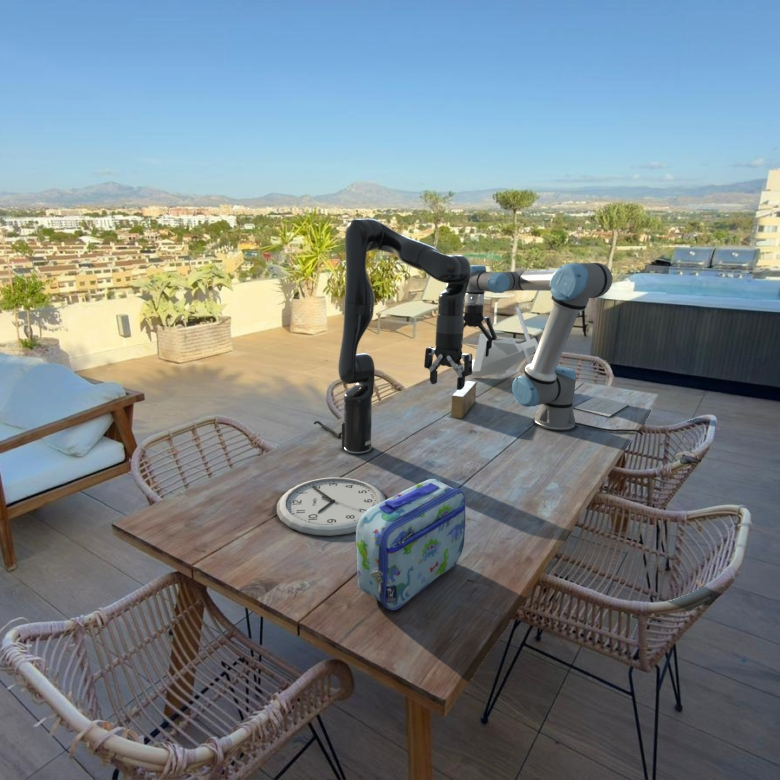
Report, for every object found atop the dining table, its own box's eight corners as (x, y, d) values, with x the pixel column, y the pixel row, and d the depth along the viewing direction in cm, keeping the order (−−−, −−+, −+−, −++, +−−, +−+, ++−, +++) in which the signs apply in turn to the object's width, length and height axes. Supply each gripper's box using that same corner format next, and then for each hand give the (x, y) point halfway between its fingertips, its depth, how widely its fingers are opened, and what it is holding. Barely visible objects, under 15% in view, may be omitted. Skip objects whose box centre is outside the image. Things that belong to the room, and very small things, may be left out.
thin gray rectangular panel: (608, 416, 214) (573, 407, 224) (608, 416, 214) (573, 408, 224) (628, 404, 229) (594, 396, 238) (628, 405, 229) (594, 397, 238)
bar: (465, 400, 232) (466, 380, 229) (475, 401, 230) (476, 382, 227) (450, 416, 211) (452, 395, 209) (461, 418, 210) (462, 396, 207)
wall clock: (392, 527, 129) (268, 531, 127) (391, 533, 130) (269, 537, 127) (383, 473, 158) (282, 475, 155) (383, 478, 158) (282, 480, 156)
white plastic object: (486, 418, 266) (465, 396, 241) (467, 346, 288) (447, 318, 263) (557, 395, 254) (543, 368, 229) (531, 321, 276) (517, 290, 251)
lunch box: (385, 624, 100) (387, 528, 94) (349, 596, 108) (348, 506, 101) (468, 566, 118) (474, 482, 112) (432, 545, 125) (436, 466, 119)
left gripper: (420, 328, 145) (418, 384, 150) (465, 335, 137) (462, 394, 142) (434, 325, 151) (432, 379, 155) (479, 331, 143) (475, 388, 147)
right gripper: (442, 302, 215) (440, 353, 222) (503, 307, 206) (498, 359, 213) (447, 300, 222) (445, 349, 228) (506, 304, 213) (502, 355, 219)
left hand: (446, 386), depth 149 cm, fingers open, 8 cm apart
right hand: (471, 354), depth 220 cm, fingers open, 13 cm apart
